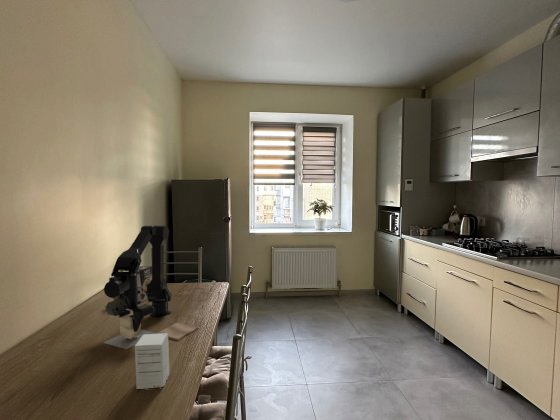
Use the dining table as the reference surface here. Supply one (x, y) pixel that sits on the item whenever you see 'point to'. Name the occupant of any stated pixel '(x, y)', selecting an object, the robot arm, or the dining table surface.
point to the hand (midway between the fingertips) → (130, 330)
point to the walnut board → (178, 331)
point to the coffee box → (143, 281)
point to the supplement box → (152, 360)
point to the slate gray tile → (126, 340)
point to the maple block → (128, 327)
